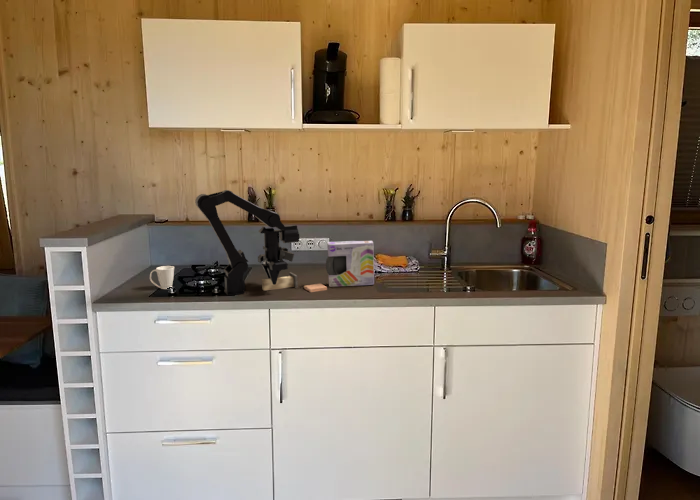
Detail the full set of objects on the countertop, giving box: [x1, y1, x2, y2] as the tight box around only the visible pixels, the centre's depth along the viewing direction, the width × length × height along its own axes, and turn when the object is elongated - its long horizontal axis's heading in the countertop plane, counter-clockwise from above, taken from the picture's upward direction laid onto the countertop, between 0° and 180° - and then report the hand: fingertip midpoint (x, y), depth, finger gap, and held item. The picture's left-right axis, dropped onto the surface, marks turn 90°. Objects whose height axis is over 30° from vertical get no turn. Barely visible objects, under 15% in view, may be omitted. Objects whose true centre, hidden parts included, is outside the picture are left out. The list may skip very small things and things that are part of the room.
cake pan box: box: [325, 240, 375, 288], centre depth 199 cm, size 19×5×18 cm, turn 95°
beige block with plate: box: [261, 271, 299, 291], centre depth 196 cm, size 13×7×5 cm, turn 118°
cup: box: [149, 265, 175, 290], centre depth 196 cm, size 7×10×8 cm
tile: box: [303, 283, 328, 293], centre depth 195 cm, size 2×6×7 cm
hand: (273, 283), depth 195 cm, fingers open, 3 cm apart
